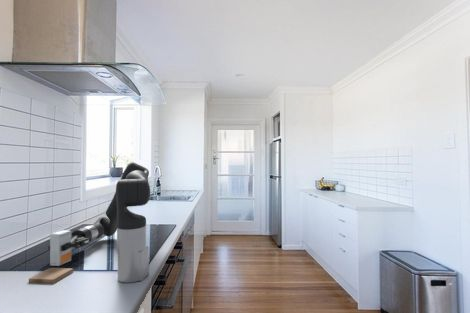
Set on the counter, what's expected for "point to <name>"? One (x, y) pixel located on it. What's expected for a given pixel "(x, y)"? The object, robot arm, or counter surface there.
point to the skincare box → (59, 248)
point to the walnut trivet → (51, 275)
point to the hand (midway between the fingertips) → (55, 248)
